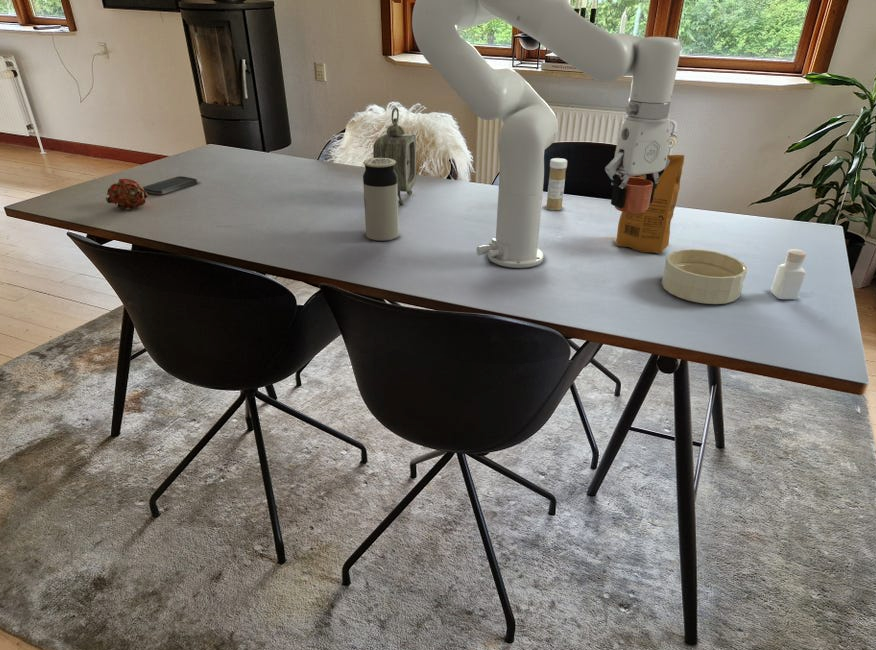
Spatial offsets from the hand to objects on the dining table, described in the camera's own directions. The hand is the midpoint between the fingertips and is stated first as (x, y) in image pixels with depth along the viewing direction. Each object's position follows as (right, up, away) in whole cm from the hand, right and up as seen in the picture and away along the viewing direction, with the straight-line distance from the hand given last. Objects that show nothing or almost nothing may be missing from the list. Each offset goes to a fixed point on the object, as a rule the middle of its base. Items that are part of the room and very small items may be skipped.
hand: (631, 203), depth 127 cm
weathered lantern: (-52, +14, +53) cm, 76 cm away
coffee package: (+9, -4, +24) cm, 26 cm away
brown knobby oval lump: (-124, +9, +43) cm, 131 cm away
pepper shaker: (+31, -19, 0) cm, 36 cm away
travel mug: (-53, -2, +27) cm, 60 cm away
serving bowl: (+15, -17, +2) cm, 23 cm away
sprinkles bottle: (-8, +10, +48) cm, 50 cm away
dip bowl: (0, -1, +1) cm, 1 cm away
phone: (-120, +20, +60) cm, 136 cm away
